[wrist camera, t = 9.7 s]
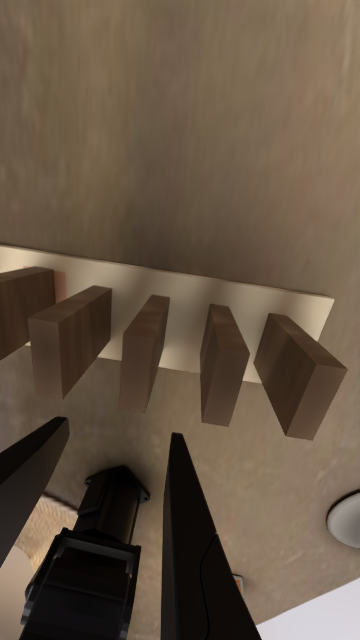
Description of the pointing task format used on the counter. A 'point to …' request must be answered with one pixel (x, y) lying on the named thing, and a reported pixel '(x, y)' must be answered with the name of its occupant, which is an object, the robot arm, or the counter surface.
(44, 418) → the counter surface
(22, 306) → the domino
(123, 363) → the domino
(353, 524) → the chalice
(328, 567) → the counter surface
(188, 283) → the domino board
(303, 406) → the domino
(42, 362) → the domino
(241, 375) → the domino
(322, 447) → the counter surface
